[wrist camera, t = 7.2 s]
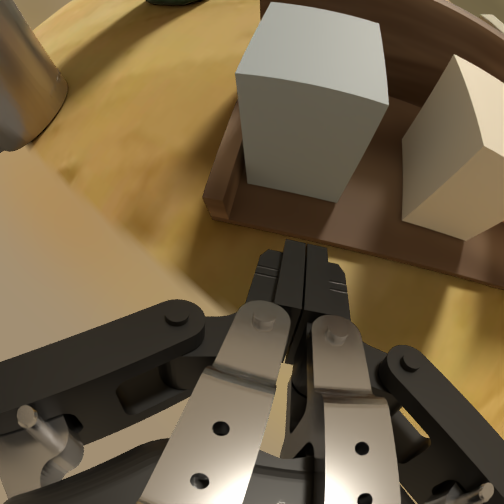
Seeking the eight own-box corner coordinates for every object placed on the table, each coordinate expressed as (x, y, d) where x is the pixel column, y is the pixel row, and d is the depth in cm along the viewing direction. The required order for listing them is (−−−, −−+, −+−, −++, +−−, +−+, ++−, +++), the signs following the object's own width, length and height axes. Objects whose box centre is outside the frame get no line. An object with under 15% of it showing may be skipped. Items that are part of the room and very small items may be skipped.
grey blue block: (336, 203, 15) (388, 105, 8) (247, 183, 16) (235, 73, 8) (345, 122, 17) (379, 23, 9) (269, 106, 17) (271, 1, 9)
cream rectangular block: (465, 240, 14) (553, 190, 7) (401, 220, 15) (483, 145, 7) (460, 162, 16) (522, 96, 8) (401, 139, 16) (453, 54, 9)
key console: (539, 300, 14) (628, 275, 4) (212, 219, 16) (155, 89, 6) (523, 155, 17) (580, 102, 7) (265, 61, 19) (264, -46, 10)
